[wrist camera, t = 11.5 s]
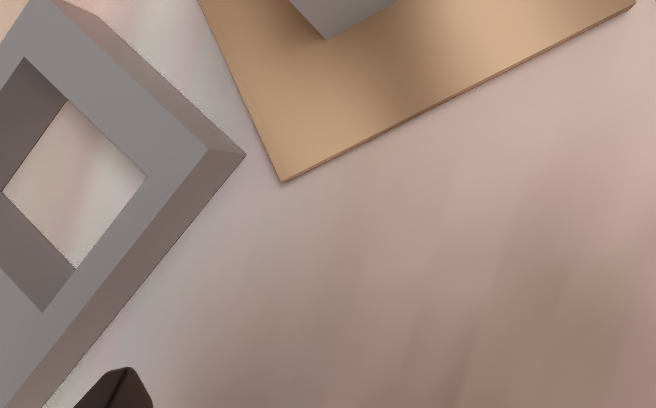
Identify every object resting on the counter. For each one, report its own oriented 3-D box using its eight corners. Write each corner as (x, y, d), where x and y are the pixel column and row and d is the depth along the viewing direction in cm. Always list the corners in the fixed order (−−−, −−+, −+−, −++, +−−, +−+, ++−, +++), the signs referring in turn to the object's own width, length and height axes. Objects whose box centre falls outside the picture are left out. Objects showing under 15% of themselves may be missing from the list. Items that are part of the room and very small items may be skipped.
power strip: (97, 16, 21) (33, -14, 18) (246, 154, 19) (205, 148, 16) (-136, 347, 24) (-224, 371, 21) (-21, 483, 23) (-96, 530, 20)
